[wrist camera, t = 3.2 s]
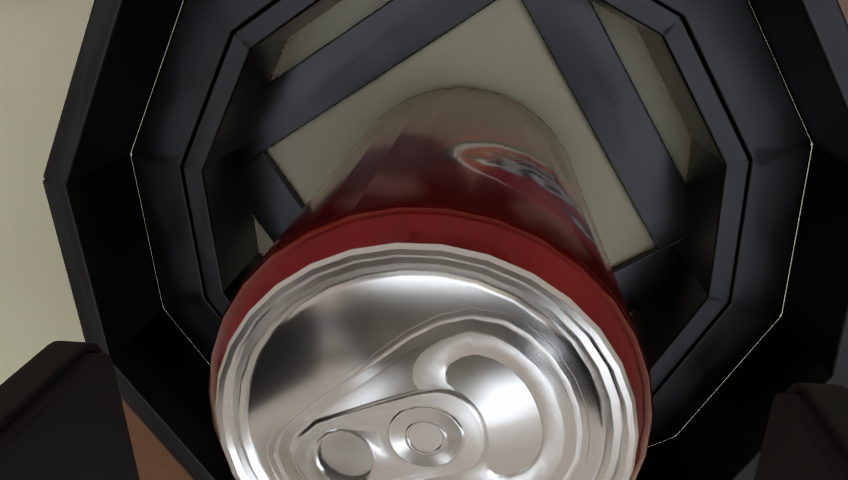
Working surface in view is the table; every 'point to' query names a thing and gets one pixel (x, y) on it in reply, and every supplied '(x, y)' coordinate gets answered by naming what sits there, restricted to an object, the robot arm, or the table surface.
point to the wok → (611, 123)
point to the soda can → (436, 316)
